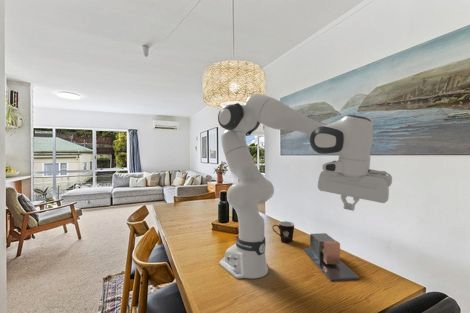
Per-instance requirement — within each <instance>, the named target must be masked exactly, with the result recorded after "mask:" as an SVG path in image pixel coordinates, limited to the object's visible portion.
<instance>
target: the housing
mask: <svg viewBox="0 0 470 313" xmlns="http://www.w3.org/2000/svg"><path fill="white" fill-rule="evenodd" d="M309 235H310V237H309V239H310V241H309V245H310V246H309V247H304V248H302V250H303V252H304V253H305V254H306V255H307V256H308V258H310V260H311V261H312V262H313V263H314V264H315V265H316V266H317V267H318V269H319V270H320V272H322V273H323V274H324V275H325V276H326V278H327V279H328V280H329V281H330V282H335V281H336V282H337V281H353V280H354V281H356V280H360V276H359V275H358V274H357V273H356V272H354V271H353V270H352V269H351V268H350V267H349V266H347V265H346V264H345V263H344V262H343V261H341V260H340V264H326V263H325V262H324V261H323V253H322V249H323V247H324V241H336V239H334V238H333V237H332V236H330V235H329V234H327V233H325V232H323V233H310V234H309Z"/></svg>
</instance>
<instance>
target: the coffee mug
mask: <svg viewBox="0 0 470 313" xmlns="http://www.w3.org/2000/svg"><path fill="white" fill-rule="evenodd" d="M274 227H277V229H278V230H279V232H277V231H276V230H275V228H274ZM271 228H272V230H273V232H274V233H275V234H277V235H278V236H279V237H280V241H281V243H283V244H292V243H293V241H294V240H293V237H294V232H295V223H294V222H291V221H287V220H286V221H280V222H278V224H274V225H272V227H271Z"/></svg>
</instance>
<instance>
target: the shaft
mask: <svg viewBox="0 0 470 313" xmlns="http://www.w3.org/2000/svg"><path fill="white" fill-rule="evenodd" d="M322 253H323V261H324V262H325V263H326V264H340V261H341V243H340V242H339V241H337V240H335V241H324V247H323V249H322Z"/></svg>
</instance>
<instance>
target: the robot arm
mask: <svg viewBox="0 0 470 313" xmlns="http://www.w3.org/2000/svg"><path fill="white" fill-rule="evenodd" d="M217 122H218V124H219V126H220V127H221V128H223V129H224V130H225V131H224V132H222V135H221V136H220V139H221V145H222V150H223V153H224V157H225V160H226V163H227V164H228V168H229V171H230V172H231V174H233V175H234V176H236V178H238V180H240V181H238V182H235V183H234V184H231V185H230V186H229V187H228V189H227V191H226V198H227V199H226V201H227V202H228V204H229V206H231V208H233V209H234V210H235V214H236V215H237V221H238V235H237V236H235V237H234V239H233V240H234V241H235V243H234V244H233V245H231V246H229V248H227V249H226V251H225V253H224V257H223V258H221V259H220V261H219V265H220V266H221V267H222V268H223V269H224V270H225V271H227V272H228V273H229V274H231V275H232V276H233V277H234V278H235V279H259V278H260V279H261V278H262V277H264V276H266V275H267V274H268V273H269V268H268V264H267V258H266V257H267V256H266V237H265V219H264V217H263V216H262V215H261V214H260V213H259V208H258V207H259V205H260V204H264V203H266V202H268V200H270V199H271V198H272V197H273V195H274V193H275V188H274V185H273V183H272V182H271V181H270V180H268V179H267V178H266V177H265V176H264V175H263V174H262V172H261V171H260V169H259V168H258V167H257V165H256V163H255V162H254V159H253V156H252V154H251V152H250V150H249V147H248V144H247V141H246V136H248V137H249V136H251V135H252V134H253V132H255V131H256V130H257V129H258V128H259V127H260V125H261V124H262V125H263V126H265V127H268V128H271V129H274V130H278V131H279V130H280V131H281V130H282V131H283V130H285V131H294V132H295V131H296V132H299V133H303V134H305V135H307V136H309V144H310V147H311V148H312V150H313V151H314V152H316V153H318V154H320V155H331V154H338V158H337V159H338V160H333V161H328V162H325V163H323V164H322V168H321V169H322V171H321V172H320V174H319V177H318V181H317V189H318V190H319V191H321V192H326V193H331V194H335V195H340V199H341V201H342V203H343V209H344V210H348V211H352V212H354V211H355V208H356V205H357V203H359V201H360V199H361V200H365V201H370V202H376V203H380V204H385V203H387V202H388V201H389V197H390V187H391V185H392V182H393V177H392V175H391V174H390V173H388V172H387V171H385V170H384V171H383V170H375V169H370V166H371V155H370V154H371V153H370V151H371V149H372V146H373V139H374V138H373V137H374V136H373V135H374V129H373V128H374V127H373V126H374V125H373V121H372V120H371V119H369V117H366V116H359V115H354V114H347V115H344V116H343V117H342V118H340V119H339V120H336V121H335V122H331V123H327V124H326V123H324V122H321V121H319V120H317V119H313V118H311V117H309V116H306V115H304V113H303V114H302V113H301V112H299V111H298V110H296V109H294V108H292V107H291V106H289V105H287V104H286V103H284V102H282V101H281V100H278V99H276V98H274V97H271V96H268V95H265V94H260V93H254V94H251V95H249V97H247V99H246V101H245V103H244V104H240V103H239V102H236V103H233V104H226V105H224V106H222V107H221V108H220V110H219V112H218V115H217ZM348 197H350V198H352V199H353V200H352V201H353V202H352V203H351V202H350V203H349V202H348V200H347V198H348Z"/></svg>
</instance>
